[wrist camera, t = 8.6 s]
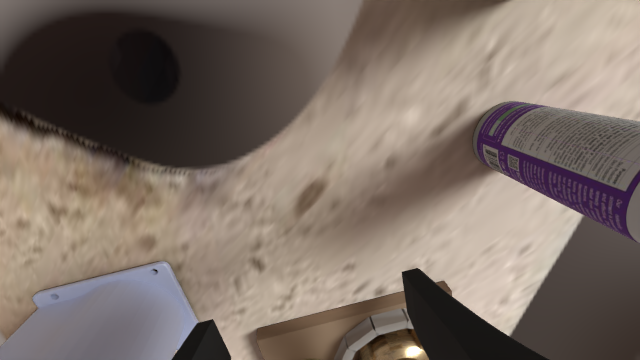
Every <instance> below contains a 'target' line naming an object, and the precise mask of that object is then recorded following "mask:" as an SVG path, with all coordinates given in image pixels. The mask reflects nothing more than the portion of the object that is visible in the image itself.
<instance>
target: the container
mask: <svg viewBox="0 0 640 360" xmlns="http://www.w3.org/2000/svg"><path fill="white" fill-rule="evenodd" d="M473 149H474V152H475V155H476V157H477V158H478V159H479V160H480V161H481V162H482V163H483V164H485V165H487V166H489V167H491V168H493V169H494V170H496V171H498V172H500V173H502V174H504V175H506V176H508V177H510V178H512V179H514V180H516V181H518V182H520V183H522V184H524V185H526V186H528V187H530V188H532V189H534V190H536V191H538V192H540V193H542V194H544V195H546V196H547V197H549V198H551V199H553V200H555V201H557V202H559V203H561V204H563V205H565V206H567V207H569V208H571V209H573V210H575V211H577V212H579V213H581V214H583V215H585V216H587V217H589V218H591V219H593V220H595V221H597V222H599V223H601V224H602V225H604V226H606V227H608V228H610V229H612V230H614V231H616V232H618V233H620V234H622V235H624V236H626V237H628V238H630V239H632V240H634V241H636V242H638V243H640V122H639V121H633V120H627V119H621V118H615V117H609V116H603V115H597V114H590V113H584V112H578V111H572V110H566V109H560V108H554V107H548V106H542V105H536V104H530V103H524V102H516V101H509V102H504V103H501V104H499V105H497V106H495V107H493V108H492V109H491V110H489V111H488V112H487V113H486V114H485V115H484V116H483V117H482V119H481V120H480V121H479V123H478V125H477V127H476V129H475V132H474V136H473Z"/></svg>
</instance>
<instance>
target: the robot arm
mask: <svg viewBox="0 0 640 360" xmlns="http://www.w3.org/2000/svg"><path fill="white" fill-rule="evenodd" d="M153 269H156V270H157V271H154V270H153ZM402 278H403V285H404V293H405V300H406V308H407V313H408V316H409V318H410V321H411V323H412V325H413V328H414V330H415V333H416V335H417V337H418V340H419V341H420V343H421V345H422V347H423V349H424V351H425V353H426V355H427V356H428V358H429V360H549V359H547V358H545V357H543V356H541V355H540V354H538V353H536V352H535V351H532V350H531V349H529V348H527V347H526V346H524V345H522V344H521V343H519V342H517V341H516V340H514V339H512V338H511V337H509V336H507V335H506V334H504V333H503V332H501V331H500V330H498V329H497V328H495V327H494V326H492V325H491V324H489V323H488V322H486V321H485V320H483V319H482V318H480V317H479V316H478V315H476V314H475V313H473V312H472V311H471V310H469V309H468V308H467V307H465V306H464V305H463V304H461V303H460V302H459V301H457V300H456V299H455V298H453V297H452V296H451V295H450V294H448V293H447V292H446V291H445V290H443V289H442V288H441V287H440V286H439V285H437V284H436V283H435V282H434V281H433V280H431V279H430V278H429V277H428V276H427V275H426V274H425V273H423V272H422V271H421V270H420V269H418V268H416V269H412V270H408V271H404V272H402ZM56 294H57V295H56ZM33 302H34V303H35V304H36V306H37V307H38V309H37V310H36V311H35V312H34V313H33V314H32V315H31V316H30V317H29V318H28V319H27V320H26V321H25V322H24V323H23V324H22V325H21V326H20V327H19V328H18V329H17V330H16V331H15V332H14V333H13V334H12V335H11V336H10V337H9V338H8V339H7V340H6V341H5V342H4V343H3V344H2V345H1V346H0V360H231V356H230V354H229V352H228V349H227V347H226V345H225V343H224V341H223V339H222V337H221V335H220V333H219V331H218V329H217V326H216V324H215V322H214V320H213V319H212V320H208V321H204V322H200V323H199V322H198V320H197V318H196V316H195V314H194V312H193V310H192V308H191V306H190V304H189V302H188V300H187V298H186V296H185V294H184V292H183V290H182V288H181V286H180V284H179V282H178V281H177V279H176V277H175V275H174V273H173V271H172V269H171V267H170V265H169V264H168V263H167V262H164V261H160V262H156V263H152V264H148V265H144V266H140V267H136V268H132V269H128V270H124V271H120V272H116V273H112V274H108V275H103V276H99V277H95V278H91V279H87V280H83V281H79V282H75V283H71V284H67V285H63V286H59V287H55V288H51V289H47V290H43V291H39V292H37V293H36V294H35V295H34V296H33ZM178 349H179V350H178ZM176 350H178V351H177V353H176V354H175V351H176ZM174 354H175V355H174ZM173 356H174V357H173Z"/></svg>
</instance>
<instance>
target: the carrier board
mask: <svg viewBox="0 0 640 360" xmlns="http://www.w3.org/2000/svg"><path fill="white" fill-rule="evenodd" d="M436 284H437V285H439V286H440V287H441V288H442V289H443V290H445V291H446V292H447V293H448V294H450V295H451V296H452V291H451V289H450V288H449V287H448V285H447V284H446V283H445V281H441V282H438V283H436ZM404 328H410V329H414V328H413V325H412V323H411V321H410V318H409V316H408V313H407V308H406V300H405V293H404V291H402V292H399V293H395V294H391V295H387V296H383V297H379V298H375V299H371V300H367V301H363V302H359V303H356V304H352V305H348V306H344V307H340V308H336V309H332V310H328V311H324V312H320V313H317V314H313V315H309V316H305V317H301V318H297V319H293V320H289V321H285V322H281V323H277V324H274V325H270V326H266V327H262V328H258V330H257V340H256V341H257V344H258V346H259V349H260V351H261V353H262V356H263V358H264V360H359V356H360V350H359V349H360V348H362V347H363V346H364V345H366V344H367V343H368V342H370V341H371V340H372V339H374V338H375V337H376V336H378V335H381V334H385V333H389V332H393V331H397V330H400V329H404Z"/></svg>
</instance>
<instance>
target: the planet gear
mask: <svg viewBox="0 0 640 360" xmlns="http://www.w3.org/2000/svg"><path fill="white" fill-rule="evenodd" d="M359 350H360V356H359V360H429V358H428V356H427V355H426V353H425V351H424V349H423V347H422V345H421V343H420V341H419V340H418V337H417V335H416V333H415V330H414V329H410V328H404V329H400V330H397V331H393V332H389V333H385V334H381V335H378V336H376V337H375V338H374V339H372V340H371V341H370V342H368V343H367V344H366V345H364V346H363V347H362V348H360V349H359Z"/></svg>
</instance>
